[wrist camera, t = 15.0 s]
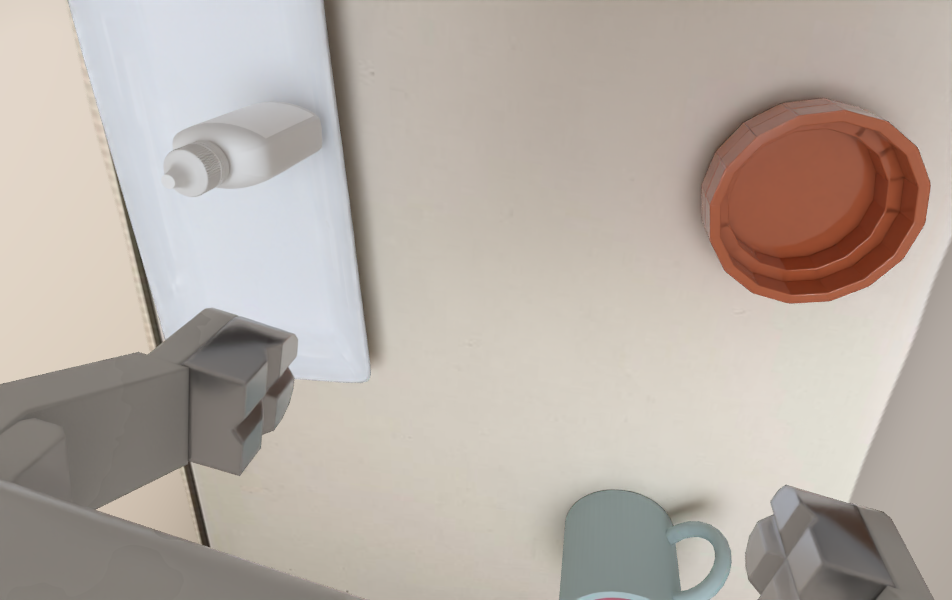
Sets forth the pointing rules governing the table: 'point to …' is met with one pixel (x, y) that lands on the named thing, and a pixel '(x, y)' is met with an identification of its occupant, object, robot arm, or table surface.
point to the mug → (632, 551)
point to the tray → (243, 209)
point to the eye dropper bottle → (241, 148)
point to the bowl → (813, 200)
